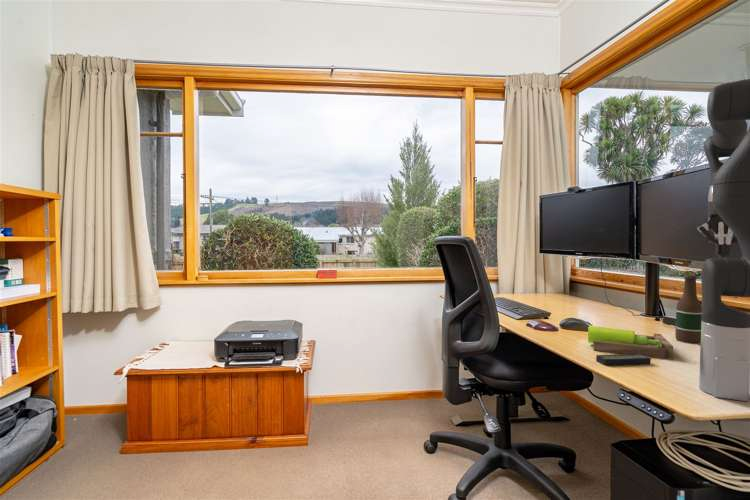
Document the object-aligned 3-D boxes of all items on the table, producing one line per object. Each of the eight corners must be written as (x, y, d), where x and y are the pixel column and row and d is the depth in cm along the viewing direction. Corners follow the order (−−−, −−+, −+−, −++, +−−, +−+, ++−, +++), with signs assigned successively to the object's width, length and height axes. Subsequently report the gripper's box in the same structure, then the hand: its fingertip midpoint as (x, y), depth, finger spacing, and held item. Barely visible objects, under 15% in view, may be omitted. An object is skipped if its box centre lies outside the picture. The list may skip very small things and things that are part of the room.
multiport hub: (595, 362, 117) (595, 354, 117) (640, 360, 118) (640, 353, 118) (605, 367, 113) (605, 359, 113) (651, 365, 114) (651, 358, 114)
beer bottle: (707, 344, 134) (710, 276, 133) (682, 343, 135) (684, 276, 134) (693, 338, 141) (696, 274, 140) (670, 337, 143) (672, 273, 142)
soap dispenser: (588, 326, 131) (660, 334, 120) (589, 325, 137) (659, 333, 126) (587, 343, 131) (660, 353, 119) (589, 341, 136) (658, 351, 125)
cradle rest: (672, 359, 119) (673, 346, 118) (593, 350, 128) (593, 338, 128) (660, 345, 133) (660, 334, 133) (589, 338, 142) (590, 327, 142)
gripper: (701, 199, 115) (699, 257, 116) (759, 198, 109) (757, 258, 110) (693, 201, 122) (691, 255, 122) (748, 200, 116) (745, 256, 117)
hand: (722, 256), depth 116 cm, fingers closed
